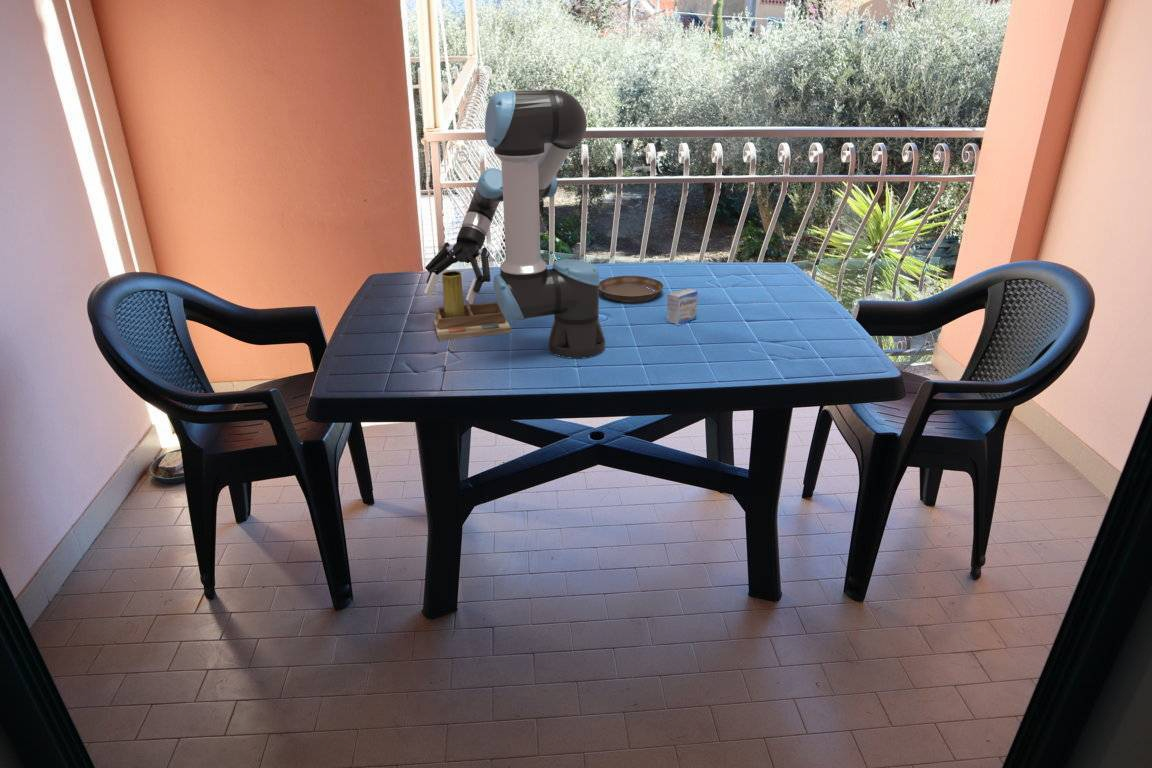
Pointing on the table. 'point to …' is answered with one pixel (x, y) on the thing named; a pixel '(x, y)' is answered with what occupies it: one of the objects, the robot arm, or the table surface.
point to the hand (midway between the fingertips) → (447, 298)
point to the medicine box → (682, 306)
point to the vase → (453, 294)
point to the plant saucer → (630, 288)
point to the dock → (472, 322)
